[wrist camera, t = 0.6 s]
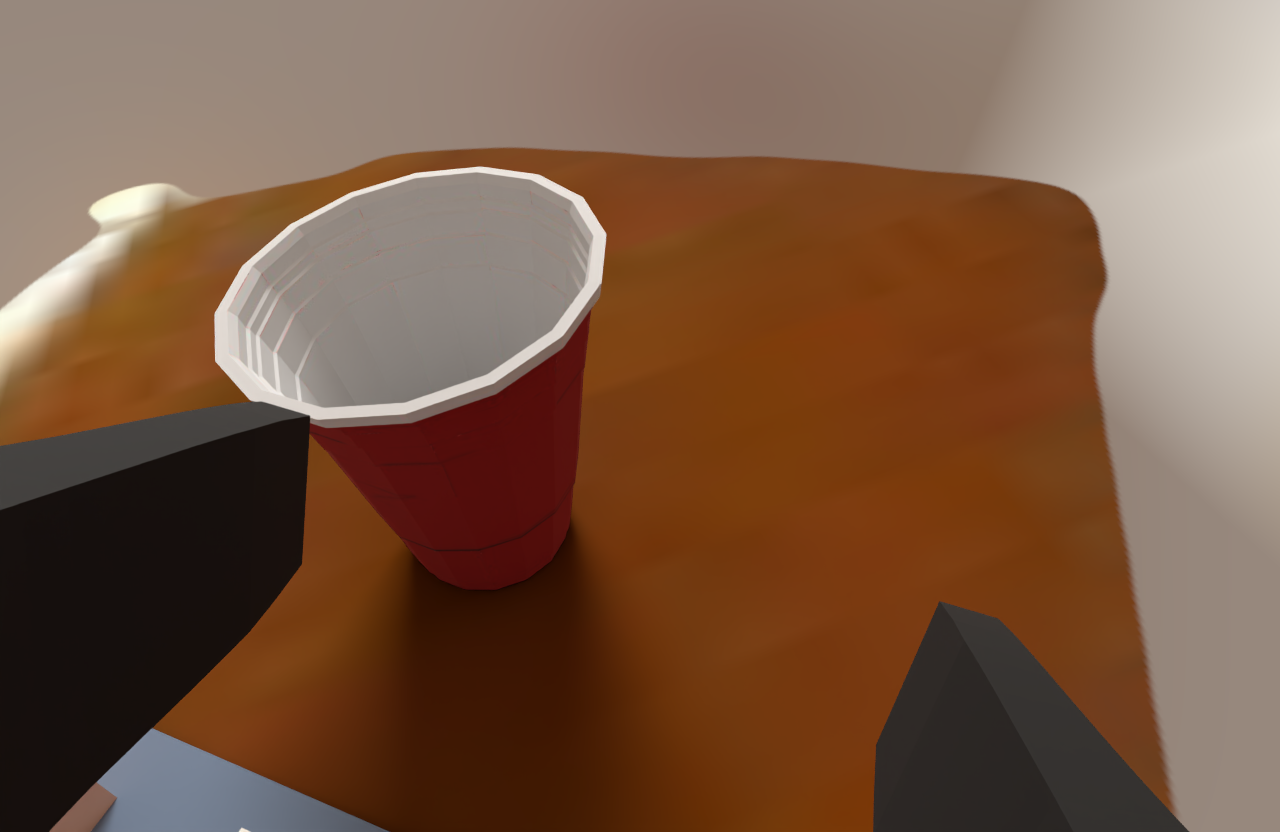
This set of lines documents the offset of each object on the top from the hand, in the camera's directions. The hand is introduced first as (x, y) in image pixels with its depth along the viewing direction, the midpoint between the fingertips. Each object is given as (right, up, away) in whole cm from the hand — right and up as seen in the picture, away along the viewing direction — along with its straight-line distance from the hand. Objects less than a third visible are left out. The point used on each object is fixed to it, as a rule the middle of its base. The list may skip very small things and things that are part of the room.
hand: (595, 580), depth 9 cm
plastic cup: (-5, -2, +22) cm, 23 cm away
